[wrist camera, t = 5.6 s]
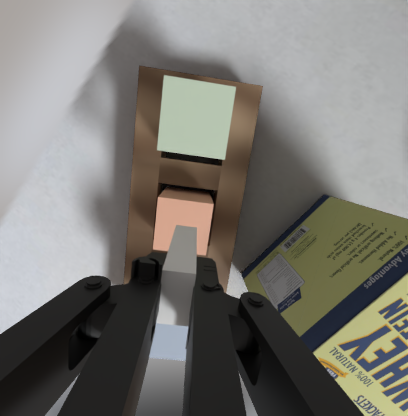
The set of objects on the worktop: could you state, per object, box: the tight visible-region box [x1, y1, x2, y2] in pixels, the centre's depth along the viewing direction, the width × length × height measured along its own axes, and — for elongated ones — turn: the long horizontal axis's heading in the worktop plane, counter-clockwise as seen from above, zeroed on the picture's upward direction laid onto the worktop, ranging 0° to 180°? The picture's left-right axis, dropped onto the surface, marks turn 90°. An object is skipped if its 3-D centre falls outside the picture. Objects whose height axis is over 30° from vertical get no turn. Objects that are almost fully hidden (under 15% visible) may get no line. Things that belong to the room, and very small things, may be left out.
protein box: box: [242, 195, 408, 416], centre depth 24 cm, size 10×16×16 cm
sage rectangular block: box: [157, 75, 236, 160], centre depth 20 cm, size 5×5×7 cm
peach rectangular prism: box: [153, 187, 214, 255], centre depth 25 cm, size 5×5×7 cm
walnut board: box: [124, 66, 263, 293], centre depth 27 cm, size 28×12×4 cm, turn 172°
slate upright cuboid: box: [149, 320, 188, 361], centre depth 24 cm, size 5×5×7 cm
